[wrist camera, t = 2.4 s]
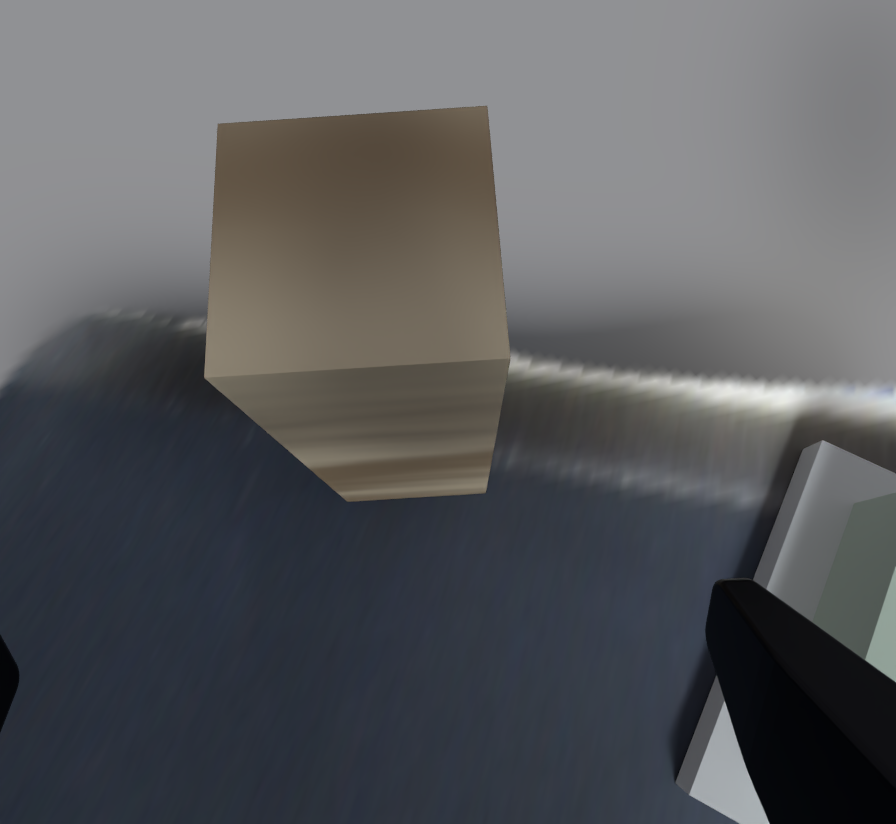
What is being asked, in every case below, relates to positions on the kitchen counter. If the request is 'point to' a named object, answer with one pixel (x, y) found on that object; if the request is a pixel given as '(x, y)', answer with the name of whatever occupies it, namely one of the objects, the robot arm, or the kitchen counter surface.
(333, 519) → the kitchen counter surface
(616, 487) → the kitchen counter surface
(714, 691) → the caddy
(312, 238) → the brown box
